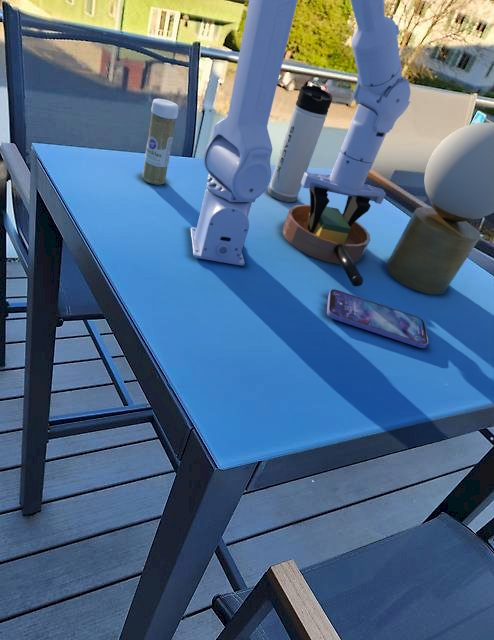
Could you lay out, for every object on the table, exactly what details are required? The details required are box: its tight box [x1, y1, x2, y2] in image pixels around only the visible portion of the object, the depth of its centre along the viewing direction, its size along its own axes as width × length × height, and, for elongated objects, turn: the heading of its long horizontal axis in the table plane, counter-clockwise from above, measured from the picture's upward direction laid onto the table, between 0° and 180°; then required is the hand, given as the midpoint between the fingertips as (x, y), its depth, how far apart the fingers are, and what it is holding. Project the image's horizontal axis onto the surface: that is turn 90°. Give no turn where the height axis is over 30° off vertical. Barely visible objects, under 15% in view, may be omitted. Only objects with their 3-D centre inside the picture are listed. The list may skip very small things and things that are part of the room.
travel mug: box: [267, 84, 333, 203], centre depth 95 cm, size 6×7×20 cm
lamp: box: [385, 122, 494, 296], centre depth 81 cm, size 15×14×25 cm
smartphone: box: [326, 288, 429, 349], centre depth 72 cm, size 7×1×15 cm
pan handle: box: [334, 244, 364, 288], centre depth 78 cm, size 12×2×2 cm, turn 5°
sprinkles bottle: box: [141, 98, 180, 186], centre depth 87 cm, size 5×5×14 cm
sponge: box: [305, 205, 351, 244], centre depth 87 cm, size 8×5×4 cm, turn 5°
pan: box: [282, 204, 371, 265], centre depth 88 cm, size 15×15×4 cm
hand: (324, 233), depth 88 cm, fingers closed on sponge, 5 cm apart
